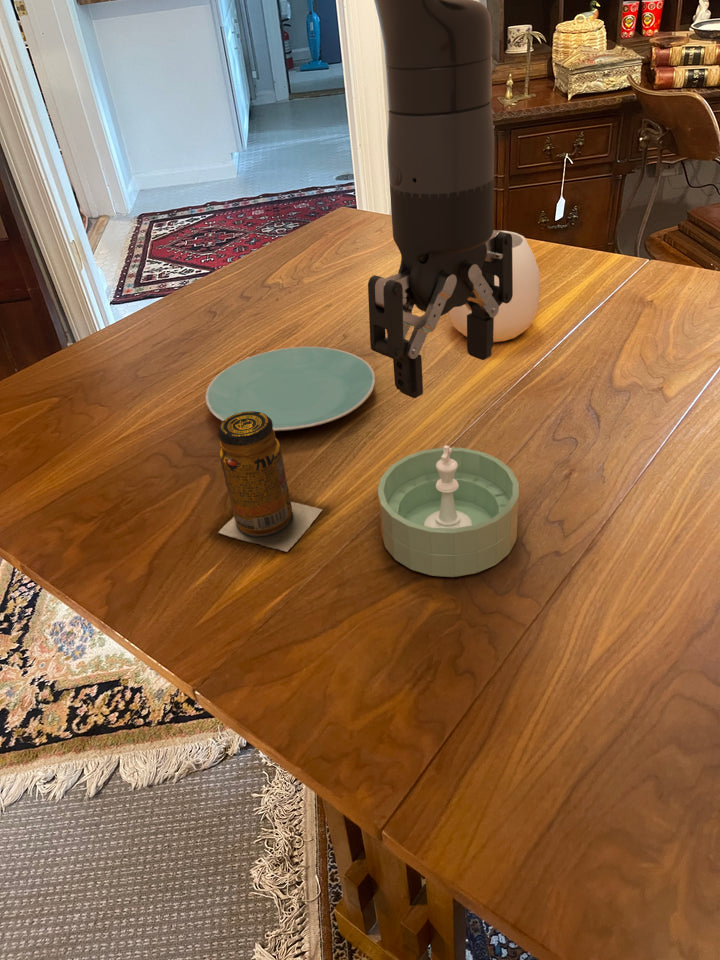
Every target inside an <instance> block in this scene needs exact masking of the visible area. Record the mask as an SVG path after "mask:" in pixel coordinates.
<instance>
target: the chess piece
mask: <svg viewBox="0 0 720 960" xmlns="http://www.w3.org/2000/svg"><path fill="white" fill-rule="evenodd" d="M442 447H443V455H442V456H441V460H439V461H438V462H437V463H436V469H437V471H438V473H439V475H440V478H441V479H439V480H438V481H437V483H436V488H437V490H439V491H440V492H442V499H441V506H440V511H437V512H435V513H433V514H431V515H430V516H428V517H427V519H426V520H425V522H424V526H427V527H431V528H451V529H453V528H459V527H466V526H472V525H473V524H472V521H471V519H470V518H469V517H468V516H467V515H466V514H464V513H462V512H460V511H456V510H455V504H454V498H453V492H454V491H456V490H457V489H458V487H459V485H458V482H457V481H456V480H455V479H453V478H454V475H455V472H456V470H457V467H458V464H457V462H456V461H455V460H453V459H450V454H451V453H452V448H450V447H451V445H447V444H444V446H442Z"/></svg>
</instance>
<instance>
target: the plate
mask: <svg viewBox="0 0 720 960" xmlns="http://www.w3.org/2000/svg"><path fill="white" fill-rule="evenodd" d="M375 386H376V373H375V371H374V369H373V367H372V366H371V365H370V364H369V363H368V362H367V361H366V360H364V359H363V358H361V356H358V355H356V354H354V353H350V352H348V351H344V350H341V349H336V348H332V347H323V346H292V347H284V348H278V349H273V350H269V351H265V352H261V353H258V354H255V355H252V356H249V357H246V358H244V359H242V360H240V361H238V362H236V363H233V364H232V365H230V366H228V367H225V369H223V370H222V371H221V372H219V373H217V375H216V376H215V377H214V378H212V380H211V382H210V383H209V384H208V386H207V388H206V391H205V396H204V397H205V398H204V399H205V403H206V406H207V409H208V410H209V412H210V413H211V414H212V415H213V416H214V417H215V418H216V419H217V420H219V421H220V422H223V421H224V420H225V419H226V418H228V417H230V416H232V415H234V414H237V413H240V412H246V411H255V412H261V413H263V414H266V415H267V416H268V417H269V418H270V419H271V420H272V424H273V430H274V432H284V431H297V430H303V429H308V428H313V427H316V426H321V425H325V424H327V423H331V422H333V421H336V420H338V419H341V418H343V417H346V416H347V415H349V414H351V413H352V412H354V411H355V410H356V409H358V408H359V407H361V406H362V405H363V404H364V403H365V402H366V401H367V400H368V398H369V397H370V396H371V394H372V392H373V390H374V388H375Z"/></svg>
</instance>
